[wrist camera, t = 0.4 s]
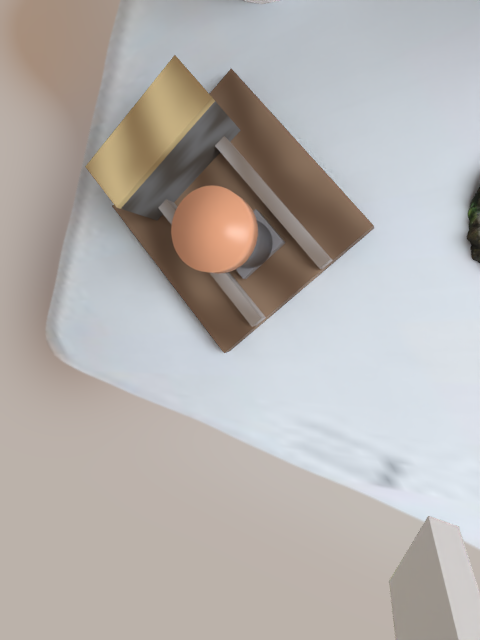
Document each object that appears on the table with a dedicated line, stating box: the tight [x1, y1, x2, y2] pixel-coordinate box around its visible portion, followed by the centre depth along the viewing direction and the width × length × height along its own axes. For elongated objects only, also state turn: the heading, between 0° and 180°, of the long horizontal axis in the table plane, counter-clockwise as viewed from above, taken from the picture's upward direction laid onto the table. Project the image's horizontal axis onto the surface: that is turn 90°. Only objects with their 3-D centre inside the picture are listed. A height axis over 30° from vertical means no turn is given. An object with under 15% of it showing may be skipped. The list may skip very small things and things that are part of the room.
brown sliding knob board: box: [86, 55, 374, 353], centre depth 35 cm, size 18×20×8 cm
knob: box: [171, 186, 285, 279], centre depth 32 cm, size 6×6×10 cm
